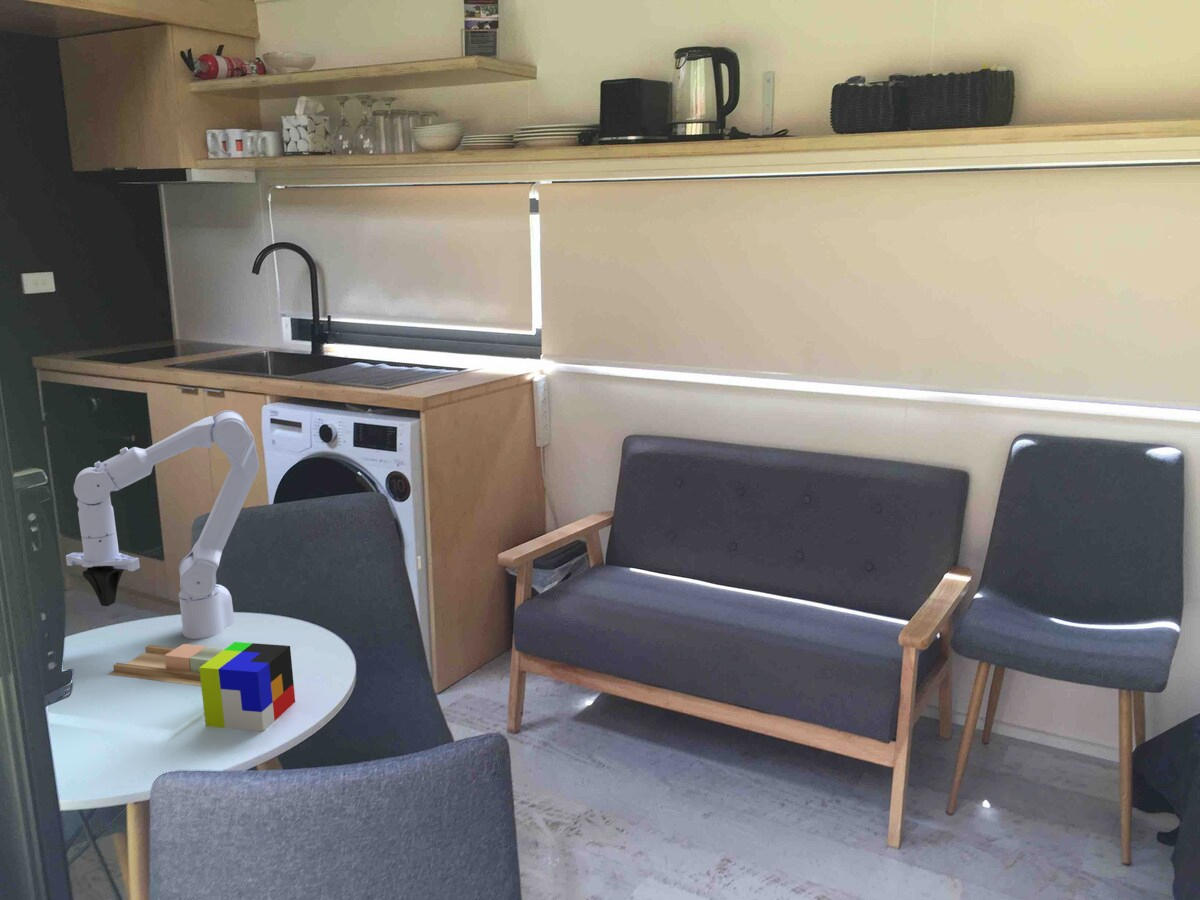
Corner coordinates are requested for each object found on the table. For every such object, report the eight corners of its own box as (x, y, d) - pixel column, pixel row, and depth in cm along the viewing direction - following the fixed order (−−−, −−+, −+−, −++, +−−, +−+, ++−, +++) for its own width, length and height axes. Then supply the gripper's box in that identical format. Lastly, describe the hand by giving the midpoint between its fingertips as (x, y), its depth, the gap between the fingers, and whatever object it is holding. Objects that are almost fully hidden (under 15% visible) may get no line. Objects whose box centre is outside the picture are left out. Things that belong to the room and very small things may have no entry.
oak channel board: (156, 652, 185) (153, 631, 184) (278, 666, 177) (276, 644, 177) (108, 680, 173) (105, 658, 172) (236, 696, 166) (234, 673, 165)
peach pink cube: (185, 659, 178) (183, 643, 178) (209, 662, 177) (207, 646, 176) (166, 671, 174) (164, 655, 173) (190, 674, 172) (188, 658, 172)
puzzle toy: (263, 731, 155) (257, 672, 152) (205, 726, 157) (199, 667, 154) (295, 702, 164) (290, 645, 162) (240, 697, 166) (234, 641, 164)
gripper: (49, 537, 179) (59, 608, 181) (115, 543, 175) (125, 615, 178) (79, 526, 185) (88, 595, 188) (144, 531, 181) (152, 601, 184)
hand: (108, 604), depth 183 cm, fingers closed
